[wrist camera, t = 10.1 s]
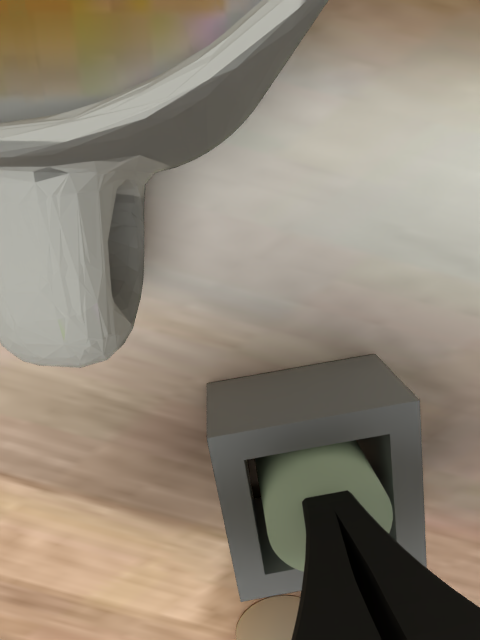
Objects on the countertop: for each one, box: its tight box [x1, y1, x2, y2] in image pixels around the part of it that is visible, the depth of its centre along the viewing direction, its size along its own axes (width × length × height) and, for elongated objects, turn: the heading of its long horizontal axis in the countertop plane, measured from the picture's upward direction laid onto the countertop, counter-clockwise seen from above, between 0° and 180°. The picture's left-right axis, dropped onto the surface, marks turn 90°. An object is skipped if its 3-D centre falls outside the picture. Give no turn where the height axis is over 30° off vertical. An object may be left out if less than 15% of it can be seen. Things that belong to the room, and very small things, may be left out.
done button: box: [255, 440, 393, 572], centre depth 14 cm, size 4×4×4 cm
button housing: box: [207, 354, 427, 602], centre depth 15 cm, size 6×6×4 cm
